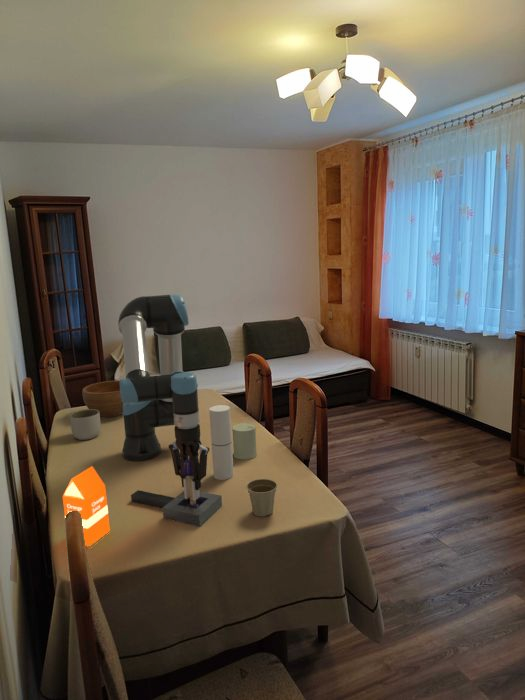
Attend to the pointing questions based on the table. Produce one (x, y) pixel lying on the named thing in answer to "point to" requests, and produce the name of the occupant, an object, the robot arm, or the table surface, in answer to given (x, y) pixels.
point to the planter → (85, 424)
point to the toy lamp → (189, 472)
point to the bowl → (104, 398)
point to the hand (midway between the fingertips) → (192, 497)
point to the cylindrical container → (221, 442)
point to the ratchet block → (181, 506)
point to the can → (244, 441)
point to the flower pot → (262, 496)
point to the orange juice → (88, 504)
